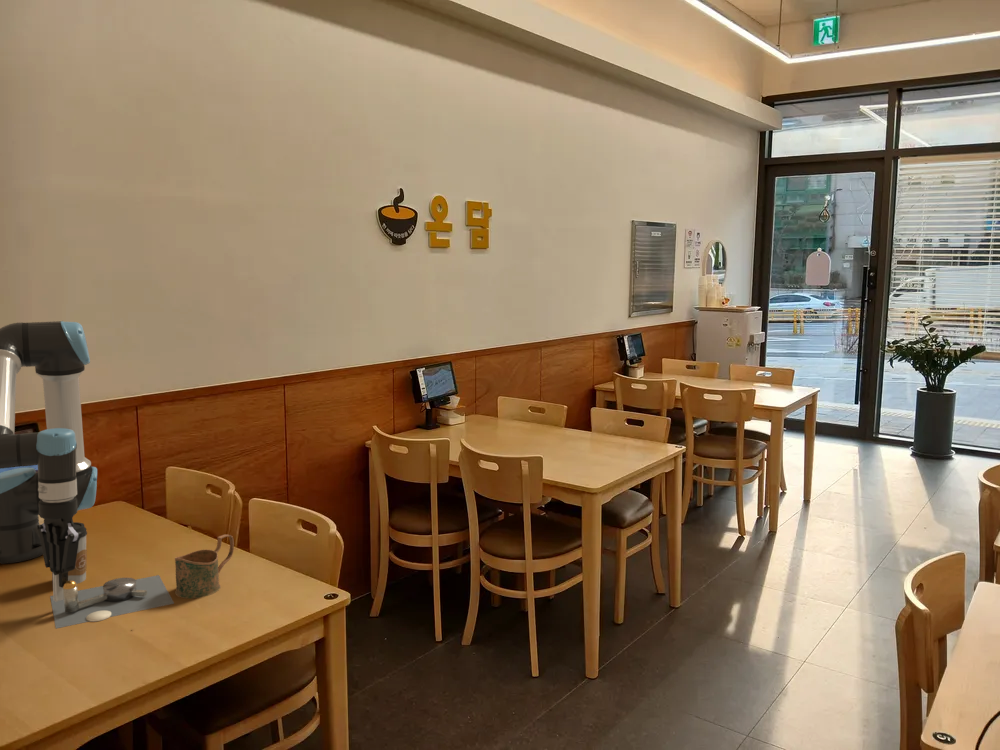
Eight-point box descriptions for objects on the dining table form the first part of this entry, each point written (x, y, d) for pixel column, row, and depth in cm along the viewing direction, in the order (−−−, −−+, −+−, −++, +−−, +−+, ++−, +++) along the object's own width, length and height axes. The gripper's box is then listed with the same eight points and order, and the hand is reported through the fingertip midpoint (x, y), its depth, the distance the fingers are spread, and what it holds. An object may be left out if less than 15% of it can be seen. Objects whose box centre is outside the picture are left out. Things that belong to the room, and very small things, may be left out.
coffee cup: (74, 593, 189) (69, 533, 187) (44, 590, 191) (39, 531, 189) (98, 579, 197) (94, 522, 195) (69, 577, 199) (65, 520, 197)
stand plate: (50, 600, 184) (50, 594, 184) (159, 579, 197) (158, 573, 197) (56, 635, 167) (56, 628, 167) (175, 609, 180) (174, 603, 180)
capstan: (123, 584, 191) (121, 556, 190) (148, 596, 184) (146, 567, 183) (53, 606, 178) (51, 576, 177) (77, 620, 171) (75, 589, 170)
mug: (251, 581, 197) (249, 535, 195) (197, 607, 181) (195, 558, 179) (216, 573, 202) (214, 528, 200) (161, 599, 186) (159, 550, 184)
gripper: (24, 497, 174) (27, 598, 176) (59, 506, 168) (62, 611, 170) (56, 490, 180) (59, 587, 183) (91, 499, 174) (94, 599, 177)
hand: (60, 599), depth 177 cm, fingers closed
